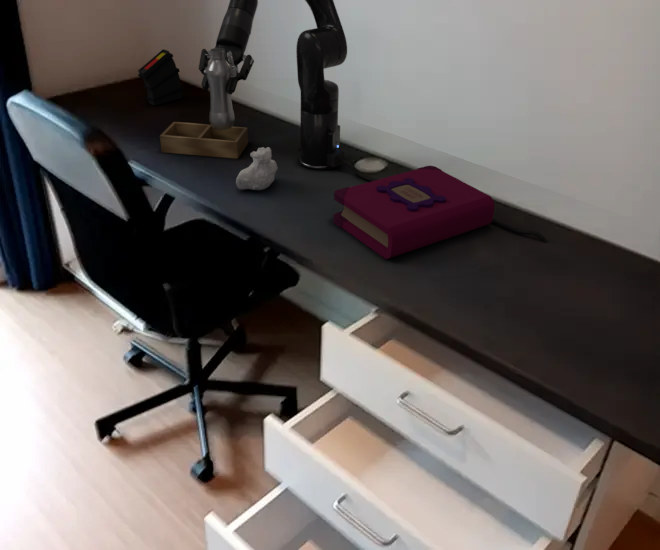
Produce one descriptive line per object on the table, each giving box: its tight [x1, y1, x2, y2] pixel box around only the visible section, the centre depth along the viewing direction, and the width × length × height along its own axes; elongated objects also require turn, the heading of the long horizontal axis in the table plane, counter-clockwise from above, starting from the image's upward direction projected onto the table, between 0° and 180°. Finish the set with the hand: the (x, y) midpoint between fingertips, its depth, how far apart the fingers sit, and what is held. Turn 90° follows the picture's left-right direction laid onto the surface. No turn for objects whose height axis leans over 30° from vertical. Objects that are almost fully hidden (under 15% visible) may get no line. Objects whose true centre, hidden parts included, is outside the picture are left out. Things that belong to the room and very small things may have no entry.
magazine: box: [137, 49, 185, 106], centre depth 217 cm, size 4×13×15 cm, turn 138°
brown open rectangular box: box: [159, 121, 249, 160], centre depth 188 cm, size 20×11×4 cm, turn 81°
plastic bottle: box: [206, 47, 236, 130], centre depth 181 cm, size 6×7×20 cm
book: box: [332, 165, 495, 260], centre depth 154 cm, size 21×28×8 cm
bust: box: [235, 146, 279, 191], centre depth 167 cm, size 12×8×11 cm
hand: (217, 90), depth 179 cm, fingers closed on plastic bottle, 6 cm apart
